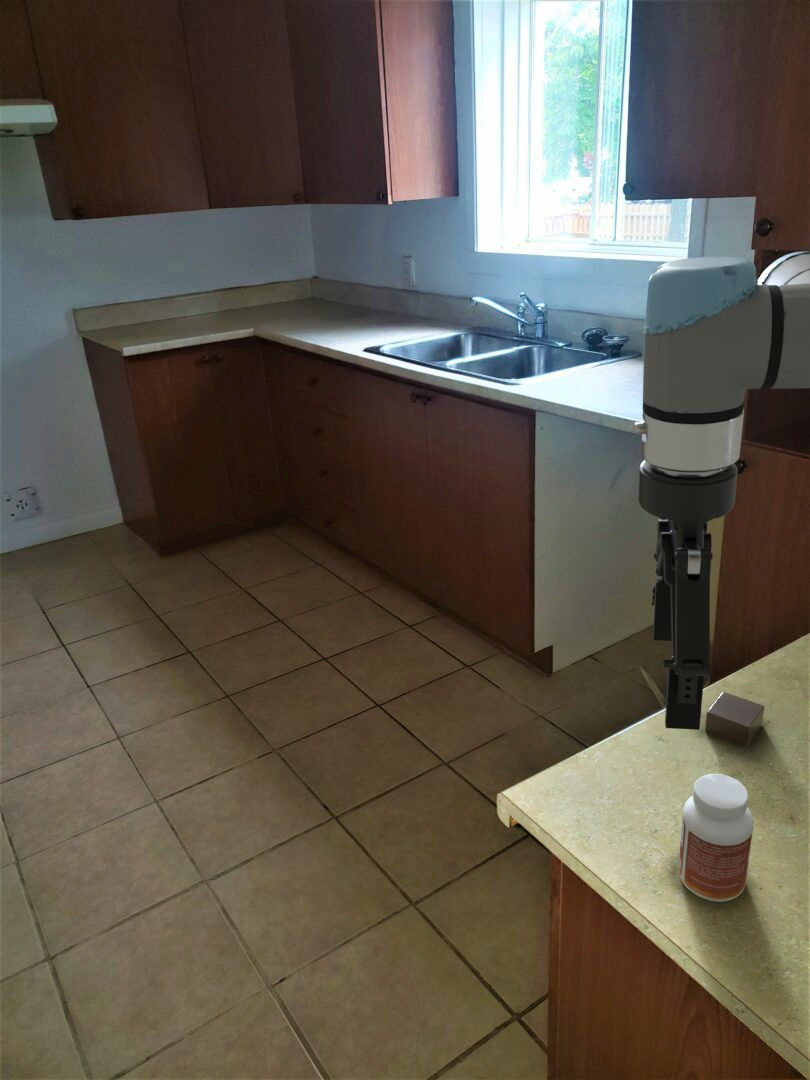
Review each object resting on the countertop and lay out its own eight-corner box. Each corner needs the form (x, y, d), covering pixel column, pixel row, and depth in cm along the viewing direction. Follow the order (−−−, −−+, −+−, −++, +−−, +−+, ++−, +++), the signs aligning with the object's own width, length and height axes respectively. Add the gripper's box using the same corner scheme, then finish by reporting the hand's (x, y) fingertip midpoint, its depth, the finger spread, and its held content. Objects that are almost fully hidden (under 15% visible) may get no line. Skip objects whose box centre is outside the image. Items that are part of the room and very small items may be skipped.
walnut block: (721, 710, 102) (723, 691, 100) (762, 725, 99) (764, 705, 97) (704, 732, 98) (706, 711, 97) (746, 748, 95) (749, 727, 94)
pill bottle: (759, 895, 77) (772, 806, 72) (700, 912, 76) (710, 822, 71) (721, 847, 82) (731, 761, 78) (665, 861, 81) (672, 775, 77)
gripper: (631, 415, 77) (625, 608, 87) (651, 526, 55) (640, 769, 65) (715, 413, 76) (700, 610, 85) (769, 526, 54) (740, 775, 63)
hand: (674, 679), depth 75 cm, fingers open, 13 cm apart
